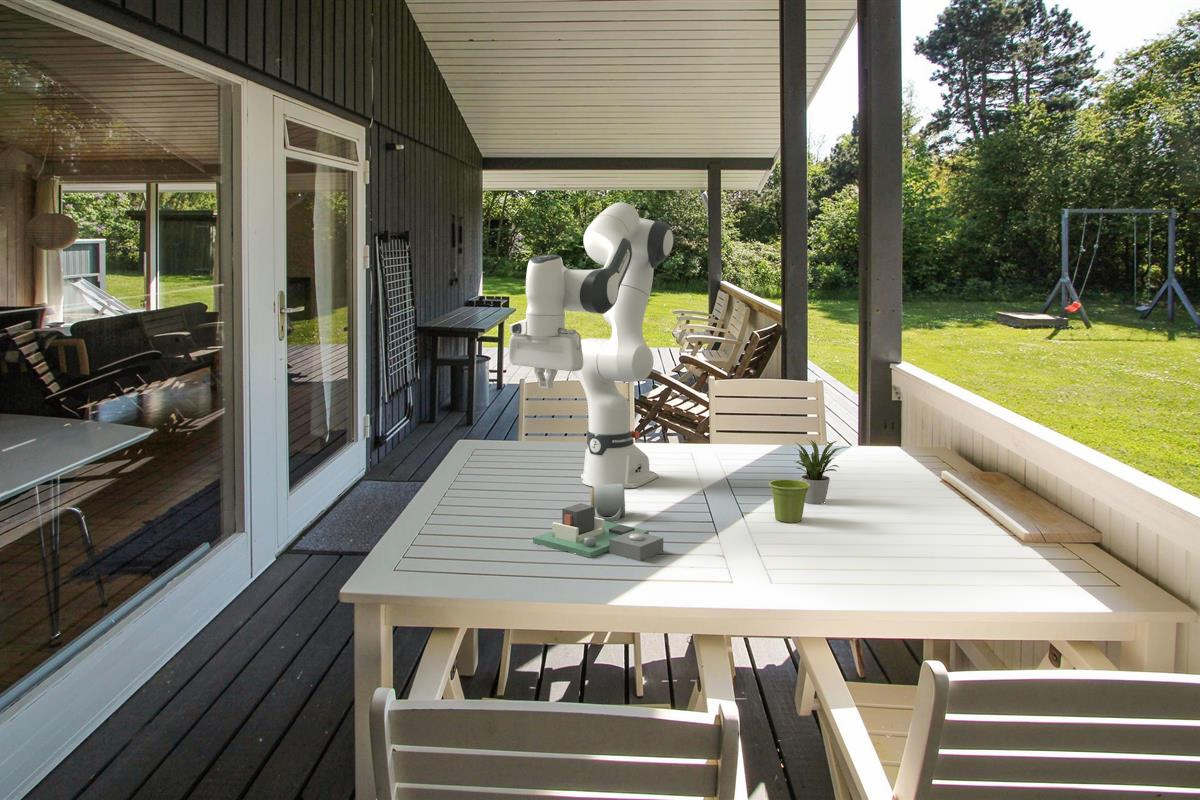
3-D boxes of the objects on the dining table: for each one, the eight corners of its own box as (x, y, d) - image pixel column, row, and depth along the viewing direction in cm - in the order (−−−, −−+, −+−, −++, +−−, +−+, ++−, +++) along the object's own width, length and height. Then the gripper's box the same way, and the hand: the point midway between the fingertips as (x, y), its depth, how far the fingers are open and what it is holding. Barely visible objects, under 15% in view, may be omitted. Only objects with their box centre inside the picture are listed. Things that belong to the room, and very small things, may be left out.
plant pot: (763, 514, 229) (764, 479, 228) (802, 513, 230) (803, 478, 229) (773, 525, 220) (775, 488, 219) (814, 524, 221) (815, 488, 219)
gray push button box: (632, 544, 205) (632, 528, 205) (663, 551, 200) (663, 535, 200) (609, 553, 199) (609, 536, 199) (640, 561, 194) (640, 543, 194)
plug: (580, 529, 212) (580, 503, 211) (594, 533, 209) (594, 506, 208) (560, 536, 207) (560, 509, 206) (574, 540, 204) (574, 512, 203)
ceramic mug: (591, 511, 232) (591, 480, 230) (624, 511, 232) (625, 480, 230) (590, 524, 221) (590, 491, 220) (625, 524, 221) (626, 491, 220)
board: (592, 523, 221) (592, 505, 221) (648, 536, 211) (648, 517, 211) (533, 542, 206) (533, 523, 205) (590, 557, 196) (590, 538, 195)
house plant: (851, 497, 246) (854, 434, 243) (846, 511, 233) (849, 444, 230) (794, 492, 250) (797, 431, 248) (787, 505, 237) (789, 440, 235)
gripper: (589, 328, 213) (589, 390, 215) (523, 324, 226) (523, 382, 228) (570, 330, 208) (570, 393, 210) (504, 325, 221) (504, 385, 223)
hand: (545, 387), depth 219 cm, fingers closed
